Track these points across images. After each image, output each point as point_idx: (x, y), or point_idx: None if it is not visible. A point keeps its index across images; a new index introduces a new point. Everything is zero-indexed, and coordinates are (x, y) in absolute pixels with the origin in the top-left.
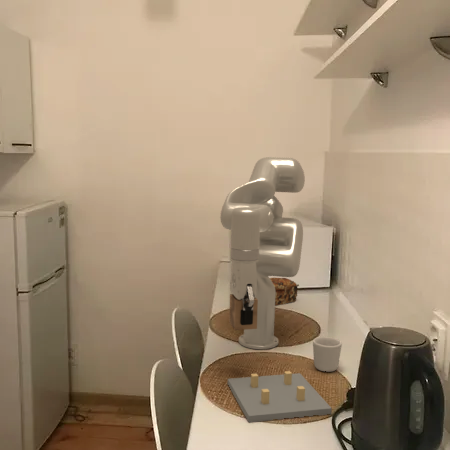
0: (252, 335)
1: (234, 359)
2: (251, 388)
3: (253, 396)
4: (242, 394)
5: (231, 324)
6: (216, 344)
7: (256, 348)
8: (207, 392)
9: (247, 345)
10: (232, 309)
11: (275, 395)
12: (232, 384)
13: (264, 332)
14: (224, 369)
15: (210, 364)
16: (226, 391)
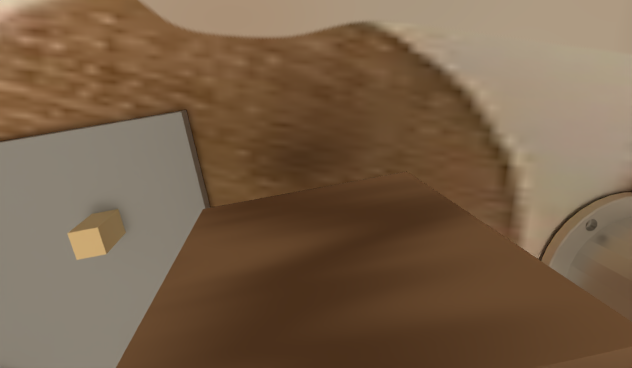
0: (611, 264)
1: (449, 158)
2: (84, 210)
3: (1, 212)
4: (14, 167)
5: (331, 187)
6: (628, 88)
7: (543, 258)
8: (91, 9)
9: (570, 226)
10: (326, 258)
11: (26, 298)
12: (118, 129)
13: None
14: (345, 106)
15: (403, 44)
16: (112, 100)
